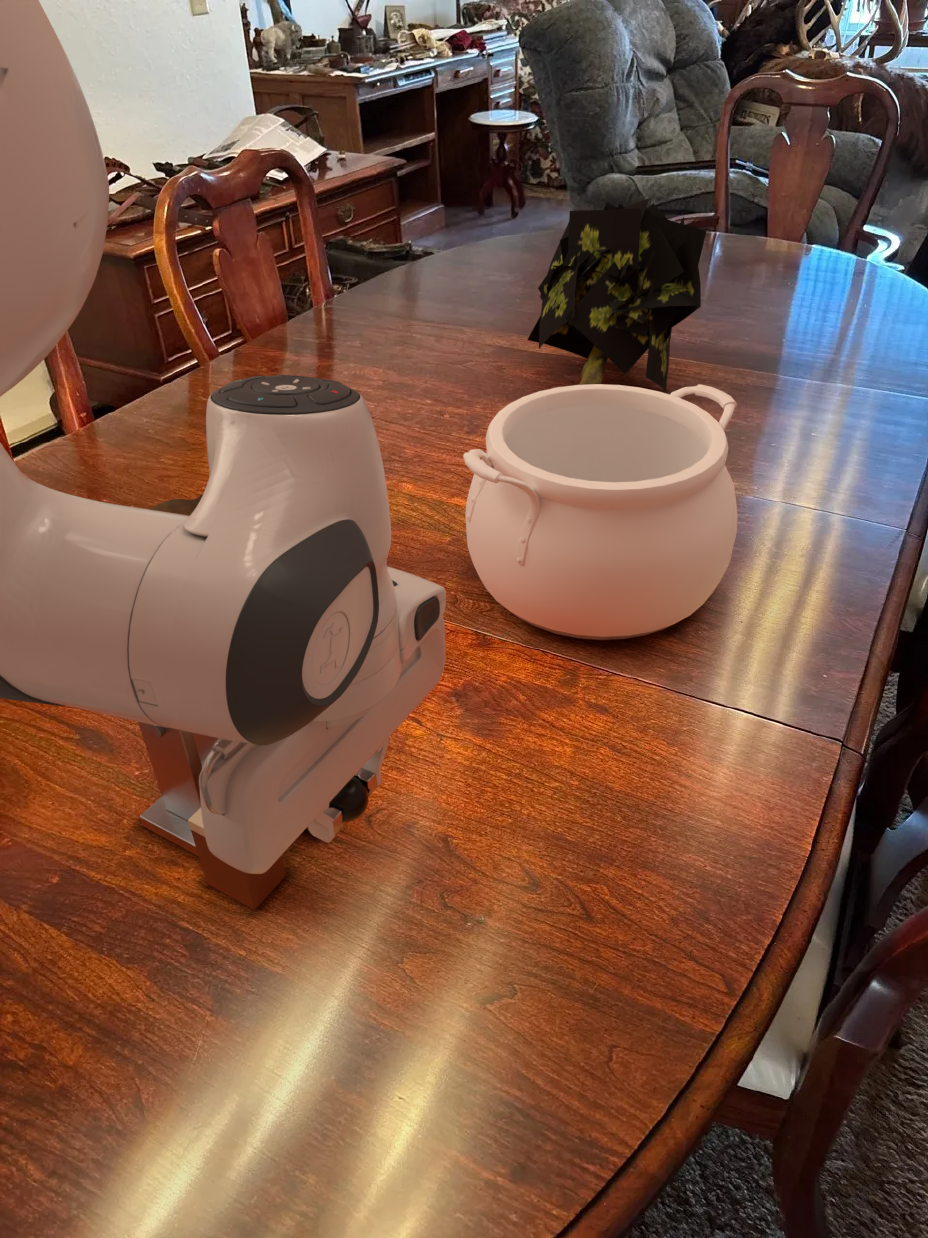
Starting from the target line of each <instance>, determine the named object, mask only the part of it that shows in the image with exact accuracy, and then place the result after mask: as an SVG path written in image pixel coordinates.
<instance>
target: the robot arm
mask: <svg viewBox="0 0 928 1238" xmlns="http://www.w3.org/2000/svg"><path fill="white" fill-rule="evenodd" d="M107 171H108V170H107V166H106V162H105V158H104V153H103V149H102V146H101V142H100V139H99V135H98V132H97V128H96V125H95V122H94V119H93V115H92V113H91V110H90V107H89V104H88V102H87V99H86V97H85V94H84V92H83V89H82V86H81V84H80V81H79V79H78V77H77V74H76V72H75V69H74V68H73V66H72V63H71V61H70V59H69V57H68V55H67V53H66V51H65V49H64V46H63V44H62V43H61V40H60V38H59V36H58V35H57V32H56V31H55V28H54V27H53V25H52V23H51V21H50V19H49V17H48V15H47V13H46V12H45V10H44V8H43V6H42V4H41V2H40V0H0V398H1V397H2V396H3V395H5V394H6V393H7V392H9V391H10V390H12V389H13V388H14V387H16V386H17V385H18V384H19V383H21V382H22V381H23V380H24V379H25V378H27V376H28V375H30V373H32V372H33V371H34V370H35V369H36V368H37V367H38V366H39V365H41V363H42V362H43V361H44V360H45V359H46V358H47V357H48V355H50V353H51V352H52V351H53V350H54V349H55V347H56V346H57V345H58V344H59V343H60V341H61V340H62V338H63V337H64V336H65V335H66V333H67V332H68V330H69V329H70V327H71V326H72V325H73V323H74V321H75V320H76V319H77V317H78V316H79V314H80V312H81V310H82V308H83V307H84V304H85V302H86V300H87V298H88V296H89V294H90V292H91V290H92V287H93V285H94V283H95V280H96V277H97V274H98V270H99V268H100V264H101V261H102V257H103V254H104V250H105V249H104V248H105V242H106V236H107V231H108V222H109V206H110V205H109V204H110V182H109V177H108V176H109V175H108V172H107ZM205 431H206V432H205V433H206V434H205V435H206V451H207V463H208V473H209V478H208V479H207V480H208V481H207V484H206V486H205V489H204V491H203V493H202V494H203V496H202V498H201V500H200V502H199V504H198V505H197V507H196V508H195V510H194V511H193V513H192V514H191V515H190V516H188V515H181V514H175V513H168V512H162V511H155V510H149V509H150V508H149V509H148V508H142V507H134V506H128V505H123V504H116V503H110V502H104V501H99V500H95V499H91V498H85V497H82V496H78V495H75V494H71V493H68V492H63V491H61V490H60V491H59V490H57V489H53V488H51V487H48V486H46V485H43V484H41V483H38V482H36V481H35V480H33V479H31V478H29V477H28V476H27V475H25V474H24V473H23V472H22V470H20V469H19V466H18V465H17V464H16V462H15V461H14V460H13V459H12V457H11V455H10V454H9V453H8V451H7V450H6V448H5V447H4V446H3V444H2V442H0V699H4V700H9V701H10V700H11V701H17V702H24V703H34V704H39V705H40V704H41V705H47V706H48V705H49V706H56V707H70V708H75V709H80V710H83V711H89V712H91V713H92V712H93V713H97V714H102V715H105V716H106V715H107V716H109V717H110V716H111V717H116V718H119V719H124V720H129V721H134V722H137V723H138V722H142V723H147V724H151V725H156V726H160V727H165V728H173V729H178V730H182V731H187V732H192V733H196V734H201V735H206V736H211V737H216V738H218V739H217V741H216V742H215V743H214V745H213V747H212V751H211V752H210V753H209V755H208V756H207V758H206V760H205V762H204V764H203V767H202V771H201V773H200V775H199V787H200V802H201V812H202V821H203V827H204V833H205V838H206V842H207V846H208V848H209V850H210V852H211V853H212V854H213V855H214V856H216V857H217V858H219V859H220V860H222V861H223V862H225V863H227V864H228V865H230V866H232V867H234V868H236V869H238V870H240V871H243V872H246V873H251V874H262V873H264V872H266V871H267V870H268V869H269V868H270V867H271V866H272V865H273V864H274V863H275V862H276V860H277V859H278V858H279V857H280V856H281V855H282V856H283V854H284V853H285V852H286V851H287V850H288V848H289V847H290V846H292V844H293V843H294V842H296V840H297V839H298V838H299V837H300V835H301V834H303V832H304V831H305V830H307V829H306V828H307V827H308V830H307V831H308V832H309V834H310V835H312V836H313V837H315V838H317V839H319V840H321V841H322V842H325V843H327V844H329V843H331V842H332V840H333V839H334V838H335V837H336V836H337V835H338V834H339V832H340V831H341V830H342V829H343V828H344V825H345V824H344V822H342V818H343V817H342V811H340V810H338V809H336V808H334V807H332V808H329V802H330V801H331V800H332V799H333V798H334V797H335V796H336V795H337V794H338V793H339V792H340V790H341V789H342V788H343V787H344V786H345V785H346V784H347V783H348V782H349V781H350V779H351V778H352V777H355V778H357V779H359V780H360V781H361V782H362V783H363V784H364V785H365V787H366V789H367V792H368V798H370V796H372V794H373V793H374V792H375V791H376V790H377V789H378V788H379V787H380V786H381V785H382V781H383V780H382V771H381V768H382V766H383V763H384V760H385V757H386V754H387V750H388V747H389V745H390V741H391V739H390V737H391V736H392V735H393V734H394V733H395V731H396V730H397V729H398V728H399V727H400V726H401V725H402V724H403V723H404V722H405V720H407V718H408V717H409V716H410V715H411V714H412V713H413V712H414V711H415V709H417V707H418V706H419V705H420V704H421V703H422V702H423V701H424V700H425V699H426V698H427V697H428V695H430V693H431V692H433V690H434V689H435V688H436V687H437V686H438V684H439V683H440V680H441V678H442V675H443V674H444V670H445V667H446V666H445V665H446V659H447V657H446V656H447V642H446V641H447V640H446V637H447V636H446V624H445V623H446V622H445V619H444V616H443V615H444V613H445V611H446V607H447V591H446V588H445V587H444V586H443V585H440V584H437V583H436V582H433V581H431V580H429V579H426V578H423V577H421V576H418V575H416V574H413V573H410V572H407V571H404V570H401V569H398V568H394V567H391V566H388V557H389V553H390V550H391V544H392V538H393V537H392V521H391V512H390V502H389V494H388V485H387V480H386V473H385V468H384V467H385V466H384V463H383V461H384V460H383V456H382V452H381V451H382V450H381V447H380V443H379V439H378V434H377V431H376V427H375V424H374V420H373V417H372V415H371V411H370V409H369V406H368V405H367V402H366V400H365V398H364V397H363V396H362V394H360V393H359V392H358V391H357V390H355V389H353V388H351V387H349V386H348V385H346V384H344V383H342V382H340V381H336V380H331V379H326V378H319V377H312V376H306V375H305V376H304V375H292V374H291V375H289V374H277V375H255V376H250V377H246V378H241V379H237V380H234V381H231V382H228V383H226V384H225V385H223V386H222V387H220V388H217V389H216V390H215V391H213V392H212V393H211V394H210V395H209V396H208V398H207V402H206V410H205Z"/></svg>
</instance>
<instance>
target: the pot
mask: <svg viewBox="0 0 928 1238" xmlns="http://www.w3.org/2000/svg"><path fill="white" fill-rule="evenodd" d="M693 394H694V396H696V397H697V396H698V397H703V398H707V399H709V400H712V401H714V402H715V403H717V404H718V405H719V406H720V407H721V409H723V412H722V414H721V417H720V419H719V421H718V420H717V419H716V418H715V417H713V416H712V414H710V413H709V412H707V411H706V410H705V409H703V408H701V407H700V406H698V405H696V404H694V403H693V402H690V401H687V400H686V399H684V397H685V396H688V395H693ZM737 407H738V403H737V402H736V400H735V399H734V398H733V397H732V396H731V395H730V394H728V393H727V392H725V391H723V390H721V389H718V388H716V387H713V386H710V385H706V384H701V383H698V384H697V385H694V386H684V387H681V388H679V389H677V390H673V391H671V393H670V394H669V393H665V392H663V391H658V390H654V389H648V388H643V387H638V386H630V385H624V384H623V385H621V384H604V383H603V384H602V383H601V384H590V385H579V384H574V385H566V386H557V387H553V388H549V389H544V390H539V391H536V392H533V393H530V394H527V395H524V396H522V397H519V398H518V399H516V400H514V401H512V402H509V403H508V404H507V405H505V406H504V407H503V408H502V409H501V410H499V411H497V413H496V415H495V416H494V417H493V418H492V420H491V421H490V423H489V425H488V427H487V430H486V434H485V448H486V452H484V451H483V449H480V448H478V449H477V448H474V449H470V450H469V451H467V452H464V453H463V455H462V458H463V461H464V464H465V466H466V467H467V468H468V469H469V470H470V471H471V472H472V473H473V477H472V480H471V483H470V485H469V491H468V494H467V498H466V503H465V504H466V505H465V514H464V518H465V532H466V544H467V545H466V546H467V549H468V552H469V556H470V559H471V562H472V564H473V567H474V570H475V571H476V573H477V575H478V577H479V579H480V581H481V583H482V584H483V587H484V588H485V589H486V590H487V592H488V593H489V594H490V595H491V597H492V598H493V599H494V600H495V602H497V603H498V604H500V605H501V606H502V607H504V609H506V610H508V611H509V612H510V613H512V614H513V615H514V616H516V617H517V618H518V619H520V620H522V621H524V622H525V623H528V624H529V625H532V626H534V627H536V628H538V629H541V630H544V631H547V632H550V633H552V634H556V635H560V636H565V637H570V638H574V639H583V640H593V641H611V640H613V641H614V640H626V639H627V640H628V639H633V638H638V637H643V636H647V635H651V634H653V633H657V632H659V631H663V630H665V629H667V628H669V627H671V626H673V625H675V624H677V623H679V622H680V621H682V620H684V619H686V618H688V617H690V616H692V614H694V613H695V612H696V611H697V610H698V609H699V608H700V607H702V606H703V605H704V604H705V602H706V601H707V600H708V599H709V598H710V597H711V596H712V595H713V593H714V592H715V590H716V588H717V587H718V585H719V584H720V582H721V581H722V579H723V577H724V575H725V573H726V571H727V570H728V567H729V566H730V563H731V559H732V555H733V551H734V546H735V542H736V537H737V533H738V520H739V515H738V514H739V513H738V505H737V498H736V489H735V485H734V482H733V479H732V477H731V475H730V472H729V471H728V468H727V466H726V461H727V458H728V454H729V443H728V437H727V435H726V432H725V429H726V428H727V427H728V424H729V422H730V421H731V418H732V416H733V414H734V413H735V409H736V408H737Z"/></svg>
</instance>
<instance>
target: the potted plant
mask: <svg viewBox="0 0 928 1238" xmlns="http://www.w3.org/2000/svg"><path fill="white" fill-rule="evenodd" d="M650 199H651V198H649V197H648V198H646V199H642V200H640V201H636V202H634V203H632V204H629V205H627V206H623V205H621V204H620V203H619V204H618V206H615V205H614V204H611V203H610V202H606V204H605V206H604V208H603V209H584V210H582V209H581V210H569V218H568V222H567V225H566V227H565V230H564V231H563V234H562V236H561V238H560V239H559V243H558V245H557V247H556V249H555V252H554V254H553V256H552V259H551V261H550V265H549V267H548V271H547V274H546V276H545V277H544V278H543V280H542V281H541V283H540V284H539V285H538V287H537V289H538V291H539V293H540V295H539V298H540V300H541V301H542V302H541V309H540V316H538V319H537V321H536V323H535V325H534V326H533V328H532V330H531V332H530V333H529V336H528V337H527V341H530V342H534V343H538V350H540V349H541V348H542V346H543V345H547V346H549V347H550V346H551V347H554V348H557V349H560V350H563V351H566V352H569V353H570V354H571V353H572V354H574V355H576V356H579V357H582V358H584V359H586V360H587V361H586V362H585V364H584V365H583V367H582V369H581V373H580V374H581V375H580V377H581V379H580V382H579V384H578V385H590V384H602V382H603V379H604V376H605V373H606V366H607V363H608V360H609V361H610V362H611V363H612V364H613V365H614V366H615V367H616V368H617V369H618V370H619V371H620V372H621V373H622V374H623V375H624V376H626V375H627V374H628V373H629V371H630V370H631V369H632V368H633V367H634V366H635V365H636V363H637V362H638V361H639V360H640V359H641V358H642V357H643V356H644V354H646V352H647V357H646V367H645V376H644V378H645V379H647V380H648V381H650V382H653V383H654V384H656V385H657V386H659V387H660V388H661V389H662V390H663V391H664V393H666V392H667V384H668V376H669V368H670V367H669V366H670V352H671V351H670V349H671V337H672V330H673V328H674V327H675V326H677V325H678V324H680V323H681V322H683V321H685V320H686V319H687V318H688V317H689V316H691V315H692V314H693V313H695V312H696V311H697V310H698V309H700V308H701V307H702V301H701V300H702V299H701V297H702V293H701V291H702V289H701V288H702V287H701V275H700V269H699V268H700V267H699V264H700V260H701V256H702V252H703V249H704V244H705V240H706V236H707V232H708V231H707V230H706V229H705V230H704V229H701V228H698V227H696V226H694V225H695V222H696V219H694V220H693V221H692V222H691V223H690V224H689V225H688V224H685V216H683V217H682V219H681V221H680V222H678V221H674V220H671V219H668V217H666V216H665V214H664V213H663V212H662V211H661V210H660V209H659V208H658V207H657V206H656V204H655V203H651V205H649V206H648V204H649V201H650ZM666 394H667V393H666Z"/></svg>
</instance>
